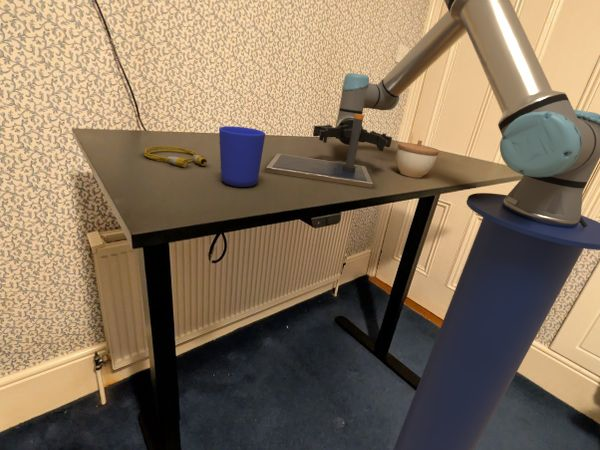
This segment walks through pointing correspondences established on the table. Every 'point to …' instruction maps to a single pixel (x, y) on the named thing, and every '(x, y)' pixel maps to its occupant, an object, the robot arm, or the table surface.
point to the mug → (240, 155)
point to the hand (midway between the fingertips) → (354, 141)
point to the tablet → (318, 170)
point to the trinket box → (415, 159)
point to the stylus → (353, 144)
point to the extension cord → (176, 160)
